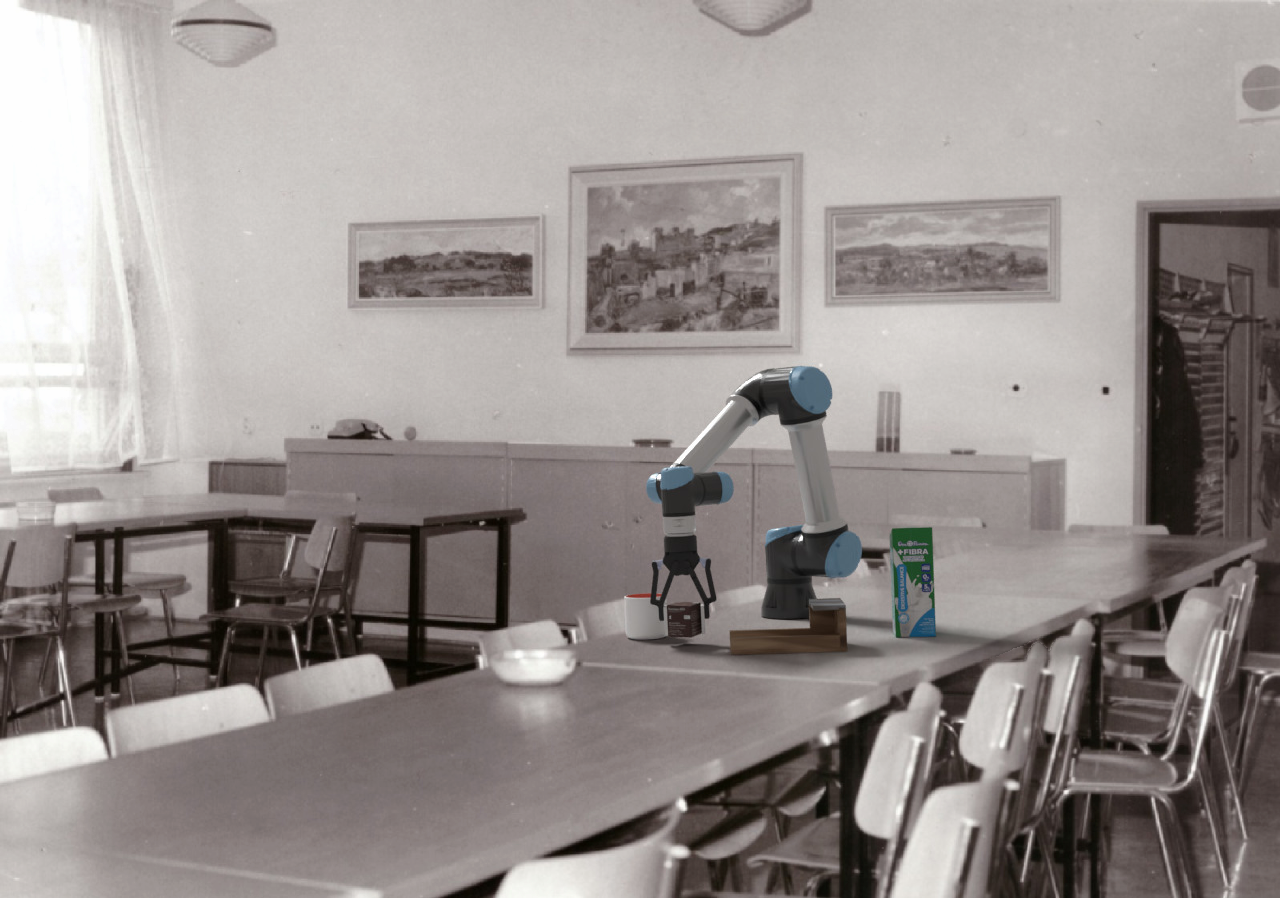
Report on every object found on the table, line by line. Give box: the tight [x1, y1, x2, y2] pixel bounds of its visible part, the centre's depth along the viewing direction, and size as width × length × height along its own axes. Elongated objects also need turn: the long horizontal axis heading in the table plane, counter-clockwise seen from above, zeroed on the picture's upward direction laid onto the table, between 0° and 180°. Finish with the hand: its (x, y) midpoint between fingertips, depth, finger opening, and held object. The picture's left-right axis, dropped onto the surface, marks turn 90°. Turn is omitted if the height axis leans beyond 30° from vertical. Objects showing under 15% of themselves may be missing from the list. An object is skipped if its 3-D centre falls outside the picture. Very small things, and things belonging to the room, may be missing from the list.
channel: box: [729, 597, 848, 656], centre depth 318 cm, size 13×25×10 cm, turn 87°
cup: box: [623, 592, 668, 641], centre depth 343 cm, size 10×10×10 cm
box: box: [667, 601, 703, 639], centre depth 329 cm, size 6×6×7 cm
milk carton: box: [889, 525, 937, 638], centre depth 332 cm, size 9×9×25 cm
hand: (685, 633), depth 329 cm, fingers closed on box, 8 cm apart
